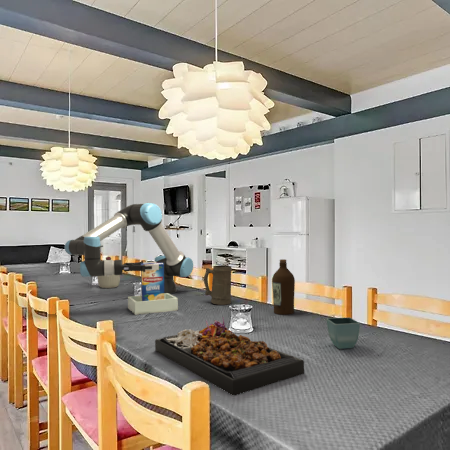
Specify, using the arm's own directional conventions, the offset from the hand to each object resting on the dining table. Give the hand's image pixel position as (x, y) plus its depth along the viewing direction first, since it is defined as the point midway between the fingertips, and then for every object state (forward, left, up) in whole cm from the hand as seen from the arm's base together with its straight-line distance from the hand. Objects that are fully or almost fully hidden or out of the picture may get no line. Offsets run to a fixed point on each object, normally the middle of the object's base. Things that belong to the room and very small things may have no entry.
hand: (157, 265), depth 205 cm
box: (+3, -1, -22) cm, 22 cm away
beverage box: (+3, -1, -21) cm, 21 cm away
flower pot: (-39, +91, -22) cm, 102 cm away
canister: (+11, -88, -22) cm, 91 cm away
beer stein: (-32, +1, -22) cm, 39 cm away
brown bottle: (-50, +37, -22) cm, 66 cm away
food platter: (+3, +85, -23) cm, 88 cm away
